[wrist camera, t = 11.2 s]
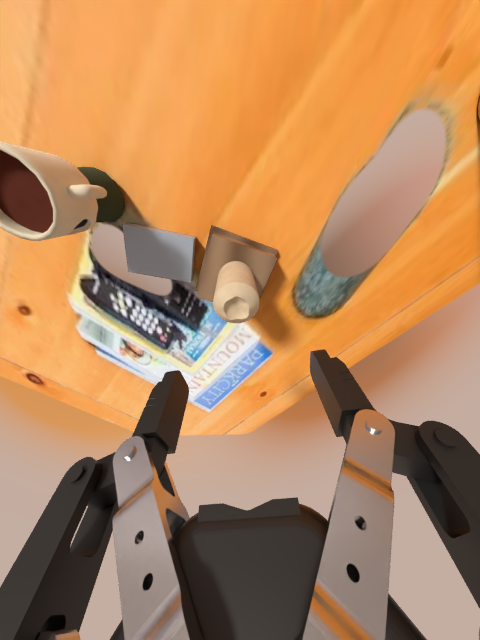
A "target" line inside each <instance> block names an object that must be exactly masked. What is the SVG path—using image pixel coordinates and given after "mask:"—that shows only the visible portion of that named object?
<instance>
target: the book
mask: <svg viewBox="0 0 480 640" xmlns="http://www.w3.org/2000/svg"><path fill="white" fill-rule="evenodd" d="M122 225H123V233H124V240H125V249H126V257H127V265H128V272H133V273H139V274H144V275H150V276H155V277H161V278H167V279H172V280H178V281H184V282H189V283H191V281H192V280H193V272H194V258H195V243H196V237H194V236H190V235H185V234H180V233H175V232H171V231H166V230H161V229H156V228H151V227H147V226H142V225H137V224H132V223H126V224H122Z"/></svg>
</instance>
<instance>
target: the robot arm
mask: <svg viewBox="0 0 480 640" xmlns="http://www.w3.org/2000/svg"><path fill="white" fill-rule="evenodd" d="M478 115H479V119H480V99H479V105H478ZM310 372H311V377H312V380H313V382H314V384H315V387H316V389H317V391H318V394H319V396H320V399H321V401H322V404H323V406H324V408H325V411H326V413H327V415H328V418H329V420H330V423H331V425H332V428H333V430H334V432H335V435H336V437H340V436H343V437H344V439H345V441H346V444H347V445H346V449H345V454H344V458H343V462H342V466H341V470H340V474H339V478H338V482H337V487H336V490H335V494H334V498H333V502H332V506H331V510H330V514H329V518H328V521H327V520H326V519H325V518H324V517H323V516H322V515H320V514H319V513H318V512H316V511H315V510H313V509H311V508H309V507H307V506H305V505H302V504H299V503H298V498H287V499H273V500H270V501H268V502H266V503H264V504H262V505H260V506H258V507H255V508H253V509H251V510H248V511H246V510H242V509H239V508H235V507H232V506H229V505H226V504H210V505H200V506H199V513H197V514H195V515H194V516H192V517H191V518H189V515H188V513H187V510H186V508H185V507H184V505H183V503H182V502H181V500H180V498H179V496H178V493H177V491H176V488H175V485H174V482H173V480H172V477H171V474H170V471H169V469H168V466H167V463H166V462H165V460H166V456H167V454H171V453H175V450H176V446H177V441H178V437H179V433H180V429H181V425H182V421H183V416H184V412H185V408H186V404H187V400H188V395H189V388H188V385H187V383H186V381H185V379H184V377H183V376H182V374H181V372H180V371H179V370H178V371H171V372H166V373H165V375H164V377H163V380H162V382H158V383H157V385H156V386H155V387H154V388H153V390H152V392H151V394H150V396H149V400H148V401H147V403H146V407H145V408H144V410H143V412H142V415H141V417H140V419H139V422H138V424H137V426H136V429H135V431H134V433H133V435H132V437H131V438H129V439H127V440H126V441H125V442H123V444H121V446H120V447H119V448H118V449H117V451H116V452H115V453H113V454H110V455H108V456H106V457H104V458H102V459H100V460H97V461H96V460H95V459H93V458H91V457H86V458H83V459H81V460H79V461H78V462H76V463H75V464H74V465H73V466H72V467H71V468H70V469H69V470H68V471H67V473H66V474H65V476H64V477H63V479H62V481H61V482H60V484H59V486H58V488H57V489H56V491H55V493H54V494H53V496H52V498H51V500H50V501H49V503H48V505H47V507H46V508H45V510H44V512H43V514H42V516H41V517H40V519H39V521H38V522H37V524H36V526H35V528H34V529H33V531H32V533H31V535H30V537H29V538H28V540H27V542H26V543H25V545H24V547H23V549H22V551H21V552H20V554H19V556H18V557H17V559H16V561H15V563H14V564H13V566H12V568H11V570H10V571H9V573H8V575H7V577H6V578H5V580H4V582H3V584H2V586H1V587H0V640H80V636H79V630H80V627H81V624H82V621H83V618H84V615H85V612H86V609H87V606H88V602H89V600H90V597H91V594H92V590H93V588H94V585H95V582H96V579H97V576H98V573H99V570H100V567H101V563H102V561H103V557H104V554H105V552H106V549H107V546H108V542H109V540H110V537H111V533H112V531H113V534H114V544H115V553H116V563H117V572H118V581H119V591H120V599H121V609H122V621H121V622H120V624H119V625H118V627H117V629H116V630H115V632H114V634H113V635H112V637H111V639H110V640H426V638H425V637H424V636H423V635H422V634H421V632H420V631H419V630H418V629H417V627H416V626H415V625H414V624H413V623H412V621H411V620H410V619H409V618H408V617H407V615H406V614H405V613H404V612H403V611H402V609H401V608H400V607H399V606H398V604H397V603H396V602H395V601H394V600H393V598H392V597H391V596H390V595H389V593H388V588H389V573H390V571H389V570H390V557H391V542H392V528H393V513H394V493H393V490H392V488H391V478H392V472H393V473H397V474H401V475H404V476H407V478H408V480H409V481H410V484H411V485H412V487H413V489H414V491H415V493H416V494H417V496H418V498H419V500H420V502H421V503H422V505H423V507H424V509H425V511H426V512H427V514H428V516H429V518H430V520H431V521H432V523H433V525H434V527H435V529H436V530H437V532H438V534H439V536H440V538H441V539H442V541H443V543H444V545H445V547H446V549H447V550H448V552H449V554H450V556H451V558H452V559H453V561H454V563H455V565H456V566H457V568H458V570H459V572H460V574H461V575H462V577H463V579H464V581H465V583H466V585H467V586H468V588H469V590H470V592H471V593H472V595H473V597H474V599H475V601H476V603H477V604H478V606H479V608H480V454H479V453H478V452H477V451H476V450H475V449H474V448H473V447H472V445H471V444H470V443H469V442H468V441H467V440H466V439H465V437H463V436H462V435H461V434H460V433H459V432H458V431H456V430H455V429H453V428H452V427H450V426H448V425H446V424H443V423H440V422H436V421H426V422H424V423H422V424H421V425H420V426H414V425H409V424H404V423H399V422H395V421H392V420H389V419H387V418H386V417H385V416H383V415H382V414H380V413H379V412H377V411H376V410H375V409H374V408H373V407H372V405H371V403H370V402H369V400H368V399H367V397H366V396H365V394H364V393H363V391H362V390H361V388H360V386H359V385H358V383H357V382H356V381H355V380H354V377H353V376H352V374H351V373H350V371H349V370H348V368H347V366H346V365H345V363H343V362H342V361H341V360H339V359H338V358H337V357H335V358H330V357H329V355H328V353H327V352H326V350H317V351H311V355H310ZM86 506H88V508H87V511H86V513H85V515H84V518H83V520H82V522H81V524H80V527H79V529H78V531H77V533H76V536H75V538H74V540H73V543H72V545H71V547H70V544H71V541H72V538H73V536H74V533H75V531H76V529H77V527H78V524H79V522H80V520H81V518H82V515H83V513H84V511H85V509H86ZM479 640H480V629H479Z"/></svg>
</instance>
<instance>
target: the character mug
mask: <svg viewBox="0 0 480 640" xmlns="http://www.w3.org/2000/svg"><path fill="white" fill-rule="evenodd" d="M123 210H124V202H123V198H122V194H121V192H120V190H119V189H118V187H117V185H116V183H115V182H114V181H113V180H112V179H111V178H110V177H109V176H108V175H107V174H106V173H105V172H103V171H101V170H98V169H96V168H92V167H78V168H77V167H76V166H74V165H73V164H71V163H69V162H68V161H66V160H64V159H63V158H61V157H59V156H57V155H54V154H50V153H46V152H42V151H38V150H34V149H30V148H26V147H21V146H17V145H13V144H9V143H5V142H0V227H1V228H2V229H3V230H5V231H7V232H9V233H11V234H13V235H15V236H18V237H20V238H23V239H27V240H31V241H41V240H46V239H51V238H55V237H60V236H65V235H71V234H76V233H79V232H83V231H86V230H88V229H90V228H92V226H93V225H94V224H95V222H104V221H116V220H117V219H119V218H120V217H121V216H122V213H123Z"/></svg>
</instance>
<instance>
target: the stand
mask: <svg viewBox="0 0 480 640" xmlns="http://www.w3.org/2000/svg"><path fill="white" fill-rule="evenodd" d="M277 254H278V250H276V249H273V248H271V247H268V246H265V245H263V244H260V243H258V242H255V241H252V240H250V239H247V238H244V237H242V236H239V235H236V234H234V233H231V232H229V231H226V230H223V229H221V228H218V227H215V226H213V225H212V226H211V229H210V233H209V237H208V241H207V245H206V250H205V254H204V258H203V262H202V266H201V270H200V274H199V278H198V282H197V287H196V291H197V292H198V293H197V297H198V298H202V299H205V300H209V301H212V302H213V299H214V294H215V289H216V284H217V279H218V274H219V271H220V269H221V268H222V267H223V266H224V265H225V264H227V263H229V262H232V261H240V262H243V263H245V264H246V265H247V266H248V267H249V268H250V269H251V271H252V273H253V276H254V280H255V284H256V288H257V292H258V295H259V298H260V296H261V294H262V292H263V290H264V287H265V285H266V283H267V281H268V279H269V276H270V274H271V272H272V270H273V268H274V265H275V263H276V261H277V258H276V256H277Z"/></svg>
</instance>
